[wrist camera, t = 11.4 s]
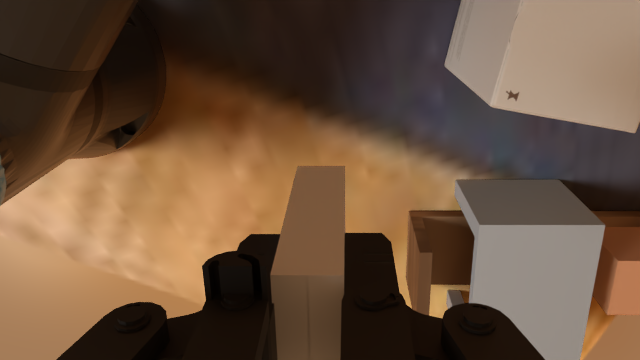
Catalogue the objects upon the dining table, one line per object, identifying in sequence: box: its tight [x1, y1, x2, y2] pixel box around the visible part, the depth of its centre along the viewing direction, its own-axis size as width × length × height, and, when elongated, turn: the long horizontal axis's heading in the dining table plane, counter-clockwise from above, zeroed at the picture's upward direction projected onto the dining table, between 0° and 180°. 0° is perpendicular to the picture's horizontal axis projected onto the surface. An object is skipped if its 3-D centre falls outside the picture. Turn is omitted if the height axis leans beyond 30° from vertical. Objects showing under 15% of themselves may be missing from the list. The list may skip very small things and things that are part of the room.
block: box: [592, 227, 640, 315], centre depth 46 cm, size 5×5×6 cm
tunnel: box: [446, 179, 605, 360], centre depth 46 cm, size 9×13×9 cm
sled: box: [406, 211, 640, 316], centre depth 46 cm, size 23×7×8 cm, turn 91°
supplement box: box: [445, 0, 640, 133], centre depth 36 cm, size 9×9×15 cm
